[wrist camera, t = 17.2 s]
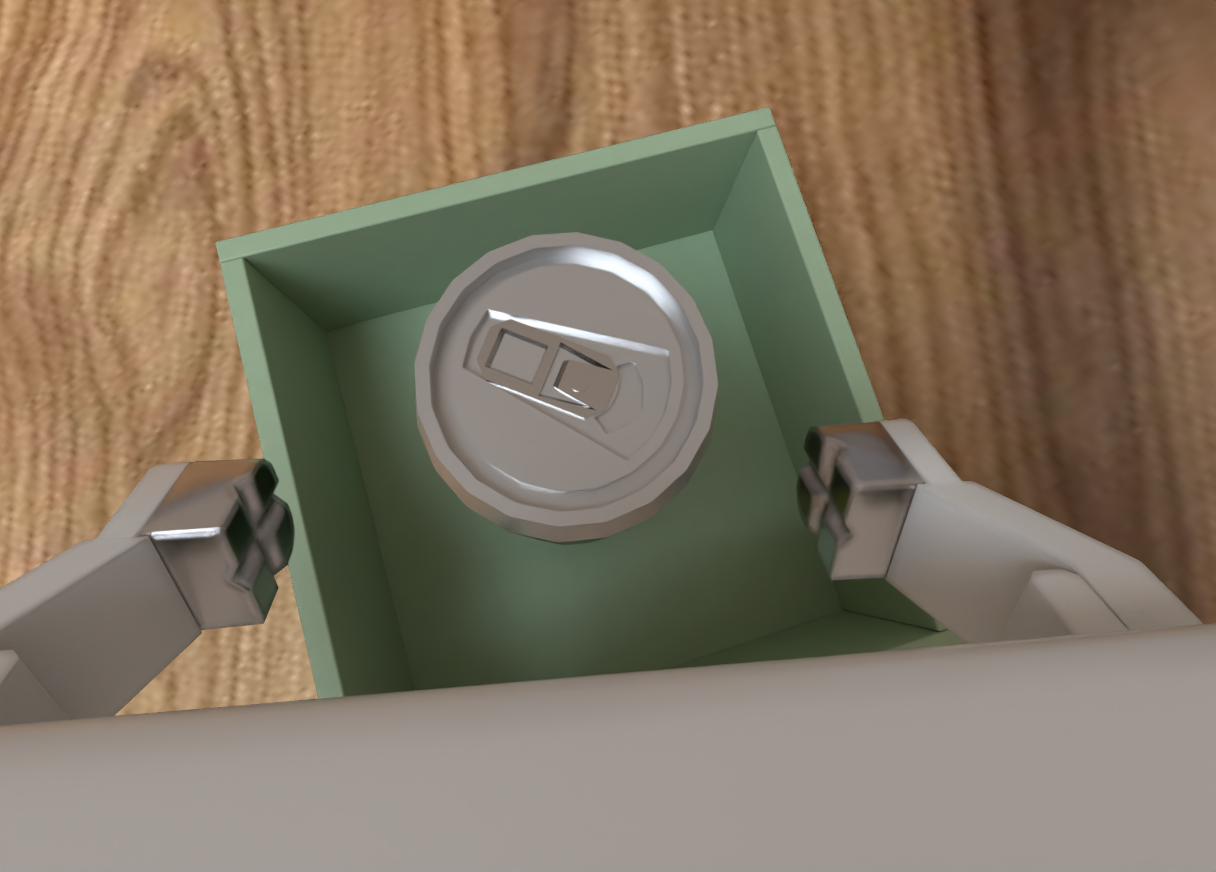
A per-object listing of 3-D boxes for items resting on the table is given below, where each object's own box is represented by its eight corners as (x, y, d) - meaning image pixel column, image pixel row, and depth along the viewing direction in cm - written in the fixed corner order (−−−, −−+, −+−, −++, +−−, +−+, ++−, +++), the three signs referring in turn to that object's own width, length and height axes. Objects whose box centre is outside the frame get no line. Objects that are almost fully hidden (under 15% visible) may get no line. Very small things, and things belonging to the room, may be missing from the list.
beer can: (463, 510, 22) (342, 467, 10) (525, 364, 23) (478, 172, 11) (614, 569, 22) (665, 593, 10) (671, 421, 23) (775, 288, 11)
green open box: (857, 621, 23) (970, 649, 16) (419, 765, 21) (353, 859, 15) (718, 219, 25) (769, 105, 19) (312, 325, 24) (214, 241, 17)
